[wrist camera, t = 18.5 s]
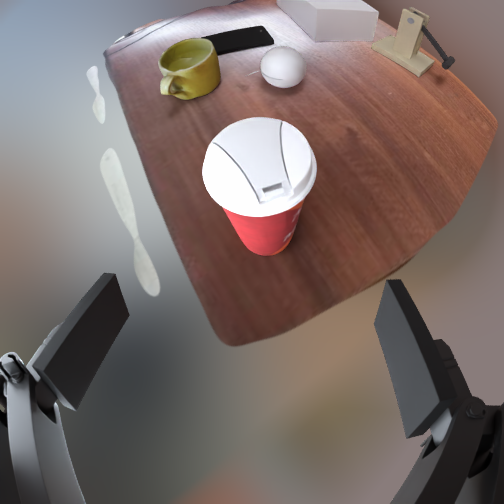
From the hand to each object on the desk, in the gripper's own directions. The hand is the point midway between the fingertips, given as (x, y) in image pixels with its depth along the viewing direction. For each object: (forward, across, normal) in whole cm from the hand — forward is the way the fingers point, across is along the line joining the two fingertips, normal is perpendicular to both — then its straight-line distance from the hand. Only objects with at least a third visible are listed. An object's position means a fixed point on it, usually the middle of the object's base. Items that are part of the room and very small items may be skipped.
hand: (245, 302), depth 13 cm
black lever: (+42, +33, +28) cm, 60 cm away
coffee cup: (+20, 0, -5) cm, 20 cm away
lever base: (+49, +30, +25) cm, 63 cm away
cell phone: (+49, -8, +25) cm, 56 cm away
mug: (+38, -13, +13) cm, 42 cm away
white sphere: (+38, +1, +13) cm, 40 cm away
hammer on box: (+60, +13, +35) cm, 70 cm away
